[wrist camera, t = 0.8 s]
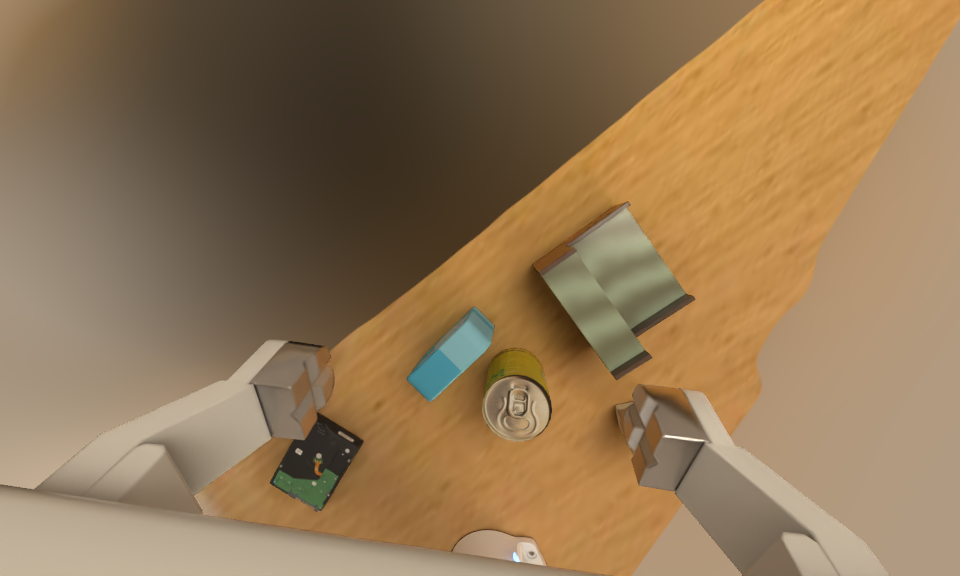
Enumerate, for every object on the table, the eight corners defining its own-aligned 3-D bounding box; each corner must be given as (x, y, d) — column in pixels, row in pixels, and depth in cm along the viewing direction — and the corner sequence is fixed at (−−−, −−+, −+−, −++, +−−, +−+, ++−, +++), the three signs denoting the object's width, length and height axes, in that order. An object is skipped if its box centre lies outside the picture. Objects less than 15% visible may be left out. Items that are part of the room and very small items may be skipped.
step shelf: (675, 292, 55) (728, 310, 41) (591, 347, 57) (616, 380, 44) (615, 205, 54) (649, 194, 40) (532, 264, 56) (538, 272, 43)
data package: (475, 304, 58) (466, 321, 46) (495, 324, 58) (491, 346, 46) (424, 354, 59) (402, 382, 48) (443, 373, 60) (426, 406, 48)
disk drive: (314, 408, 63) (278, 474, 65) (305, 415, 60) (267, 484, 62) (365, 438, 63) (327, 504, 65) (358, 447, 60) (319, 515, 62)
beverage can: (488, 400, 60) (482, 440, 48) (487, 347, 58) (481, 375, 47) (543, 401, 59) (551, 442, 47) (544, 348, 58) (552, 376, 46)
